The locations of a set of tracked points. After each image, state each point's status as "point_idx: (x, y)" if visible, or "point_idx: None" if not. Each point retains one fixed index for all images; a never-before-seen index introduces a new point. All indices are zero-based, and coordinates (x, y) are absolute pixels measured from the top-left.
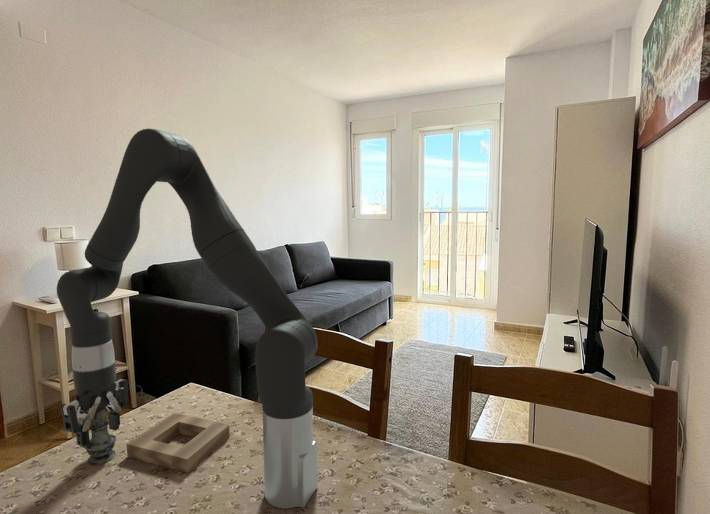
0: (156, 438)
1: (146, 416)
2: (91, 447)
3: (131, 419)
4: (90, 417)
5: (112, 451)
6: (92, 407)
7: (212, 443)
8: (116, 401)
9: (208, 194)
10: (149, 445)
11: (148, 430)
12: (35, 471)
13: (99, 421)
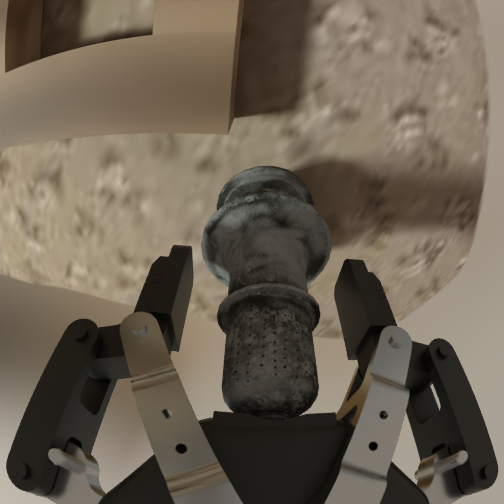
0: (125, 39)
1: (42, 252)
2: (319, 253)
3: (73, 278)
4: (395, 391)
5: (232, 196)
6: (388, 460)
7: None
8: (143, 404)
9: None
10: (204, 4)
11: (93, 129)
12: None
13: (301, 337)
